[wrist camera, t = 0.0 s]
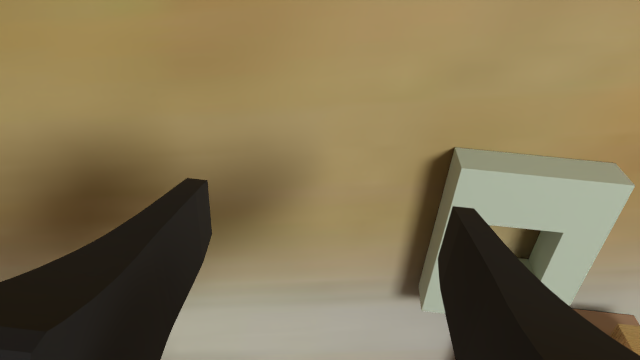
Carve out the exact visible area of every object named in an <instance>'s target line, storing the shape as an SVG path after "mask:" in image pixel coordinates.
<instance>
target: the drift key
mask: <svg viewBox="0 0 640 360" xmlns="http://www.w3.org/2000/svg"><path fill="white" fill-rule="evenodd" d="M610 337H612V338H613V339H615V340H616V341H618V342H619V343H621V344H622V345H624V346H625V347H627V348H628V349H630V350H632V351H633V352H635V353H636V354H638V355H640V326H634V325H625V324H617V325H616V327H615V328H614V330H613V331H612V333H611V335H610Z"/></svg>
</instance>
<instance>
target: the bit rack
mask: <svg viewBox="0 0 640 360" xmlns="http://www.w3.org/2000/svg"><path fill="white" fill-rule="evenodd" d="M634 187H635V185H634V184H633V183H632V182H631V180H630V179H629V178H628V177H627V176H626V175H625V174H624V172H623V171H622V170H621V169H620V168H619V167H618V166H617V165H616V163H607V162H596V161H586V160H576V159H566V158H556V157H546V156H536V155H526V154H516V153H506V152H496V151H486V150H476V149H465V148H455V149H454V153H453V157H452V160H451V164H450V168H449V172H448V176H447V179H446V183H445V187H444V191H443V195H442V198H441V202H440V206H439V210H438V214H437V217H436V221H435V225H434V229H433V233H432V236H431V240H430V244H429V248H428V251H427V255H426V259H425V263H424V267H423V270H422V274H421V278H420V282H419V286H418V287H419V295H420V303H421V310H422V311H426V312H435V313H444V314H445V309H444V305H443V300H442V296H441V291H440V282H439V270H438V256H439V252H440V249H441V245H442V242H443V238H444V235H445V231H446V228H447V224H448V221H449V217H450V214H451V210H452V207H453V206H456V207H466V208H474V209H475V210H476V211H477V212H478V213H479V215H480V216H481V217H482V218H483V219H484V221H485V222H486V223H487V224H488V225H494V226H504V227H513V228H523V229H532V230H541V232H540V234H539V236H538V238H537V241H536V243H535V245H534V248H533V250H532V252H531V255H530V257H529V259H521V258H518V259H519V260H520V261H521V262H522V263H523V264H524V265H525V266H526V267H527V268H528V269H529V270H530V271H531V272H532V273H533V274H534V275H535V276H536V277H537V278H538V279H539V280H540V281H541V282H542V283H543V284H544V285H545V286H546V287H547V288H549V289H550V290H551V291H552V292H553V293H554V294H556V295H557V296H558V297H559V298H560V299H561V300H563V301H564V302H565V303H566V304H567V305H569V306H570V304H571V303H572V301H573V299H574V297H575V295H576V293H577V292H578V290H579V288H580V286H581V284H582V282H583V281H584V279H585V277H586V275H587V273H588V271H589V270H590V268H591V266H592V264H593V262H594V260H595V258H596V257H597V255H598V253H599V251H600V249H601V247H602V246H603V244H604V242H605V240H606V238H607V236H608V235H609V233H610V231H611V229H612V227H613V225H614V224H615V222H616V220H617V218H618V216H619V214H620V213H621V211H622V209H623V207H624V205H625V203H626V202H627V200H628V198H629V196H630V194H631V192H632V190H633V189H634Z"/></svg>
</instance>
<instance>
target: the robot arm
mask: <svg viewBox="0 0 640 360" xmlns="http://www.w3.org/2000/svg"><path fill="white" fill-rule="evenodd" d="M211 235H212V229H211V218H210V206H209V194H208V182H207V180H199V179H189V178H187V179H185V180H184V181H182V182H181V183H180V184H178V185H177V186H176V187H174V188H173V189H172V190H170V191H169V192H168V193H166V194H165V195H164V196H162V197H161V198H160V199H158V200H157V201H155V202H154V203H153V204H151V205H150V206H148V207H147V208H146V209H144V210H143V211H142V212H140V213H139V214H137V215H136V216H134V217H133V218H131V219H129V220H128V221H126V222H125V223H123V224H122V225H120V226H119V227H117V228H116V229H114V230H113V231H111V232H109V233H108V234H106V235H104V236H102V237H101V238H99V239H97V240H95V241H94V242H92V243H90V244H88V245H86V246H84V247H82V248H80V249H78V250H76V251H74V252H72V253H70V254H68V255H66V256H64V257H61V258H59V259H57V260H55V261H53V262H50V263H48V264H46V265H44V266H41V267H39V268H37V269H34V270H32V271H29V272H27V273H24V274H21V275H19V276H16V277H13V278H11V279H8V280H5V281H2V282H0V360H160V359H161V356H162V354H163V351H164V348H165V345H166V342H167V339H168V337H169V334H170V332H171V330H172V327H173V325H174V323H175V321H176V319H177V317H178V314H179V312H180V310H181V308H182V306H183V304H184V302H185V300H186V298H187V296H188V293H189V291H190V289H191V287H192V285H193V283H194V281H195V279H196V276H197V274H198V272H199V270H200V268H201V266H202V263H203V261H204V258H205V255H206V251H207V248H208V245H209V242H210V238H211ZM438 270H439V282H440V291H441V296H442V300H443V305H444V309H445V314H446V319H447V323H448V327H449V332H450V336H451V341H452V345H453V350H454V354H455V359H456V360H640V355H638V354H636V353H635V352H633V351H632V350H630V349H628V348H627V347H625V346H624V345H622V344H621V343H619V342H618V341H616V340H615V339H613V338H612V337H610V336H609V335H607V334H606V333H604V332H603V331H602V330H600V329H599V328H598V327H596V326H595V325H593V324H592V323H591V322H589V321H588V320H587V319H585V318H584V317H582V316H581V315H580V314H579V313H577V312H576V311H575V310H573V309H572V308H571V307H570V306H569V305H567V304H566V303H565V302H564V301H563V300H561V299H560V298H559V297H558V296H557V295H556V294H554V293H553V292H552V291H551V290H550V289H549V288H547V287H546V286H545V285H544V284H543V283H542V282H541V281H540V280H539V279H538V278H537V277H536V276H535V275H534V274H533V273H532V272H531V271H530V270H529V269H528V268H527V267H526V266H525V265H524V264H523V263H522V262H521V261H520V260H519V259H518V258H517V257H516V256H515V255H514V254H513V253H512V252H511V250H510V249H509V248H508V247H507V246H506V245H505V244H504V243H503V241H502V240H501V239H500V238H499V237H498V236H497V235H496V233H495V232H494V231H493V230H492V229H491V228H490V226H489V225H488V224H487V223H486V222H485V221H484V219H483V218H482V217H481V216H480V215H479V213H478V212H477V211H476V210H475V209H474V208H466V207H456V206H453V207H452V210H451V214H450V217H449V221H448V224H447V228H446V231H445V235H444V238H443V242H442V245H441V249H440V252H439V256H438Z"/></svg>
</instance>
